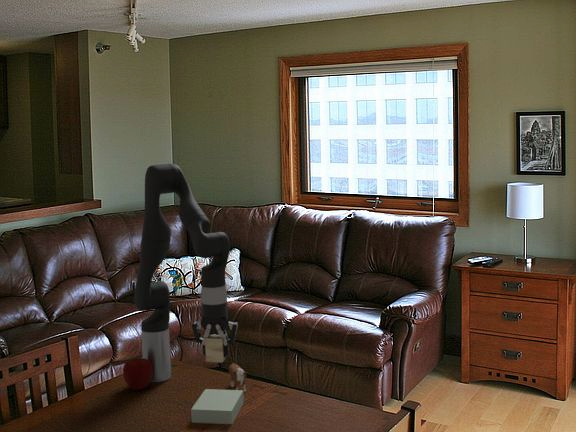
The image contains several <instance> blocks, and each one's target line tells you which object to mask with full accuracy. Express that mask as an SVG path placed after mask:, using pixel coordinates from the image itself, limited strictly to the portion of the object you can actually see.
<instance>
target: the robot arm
mask: <svg viewBox="0 0 576 432" xmlns="http://www.w3.org/2000/svg"><path fill="white" fill-rule="evenodd" d="M174 193H175V195H177V197H178V198H179V206H178V216H179V219H180V220H179V221H180V222H181V223H182V225H183V227H184V228H185V229H186V231H187V233H189V237H190V240H191V244H192V246H193V247H192V248H193V251H194V254H195V255H197V256H198V257H199V258H200V259H209V258H212V259H211V262H210V263H208V264H206V265H204V266H202V267H201V269H200V278H201V279H200V280H201V281H200V282H201V291H200V302H201V304H200V305H201V320H200V321H197V320H195V321H194V322H192V324H191V328H192V329H191V330H192V332H193V335H194V338H195V341H196V343H197V344H202V354H203V356H204V357H205V358H206V350H205V338H208V337H209V336H210V335H213V334H216V335H219V336H220V338H223V344H224V345H223V353H224V358H225V359H227V357H228V356H229V354H230V344H233V343H234V342H235V341H236V337H237V332H238V328H239V322H237V321H236V322H234V321H233V322H232V321H230V319H229V317H228V316H229V315H228V293H227V287H226V286H227V285H226V269H227V265H228V261H229V260H228V259H229V256H230V251H231V240H230V238H229V236H228V235H227V233H225V232H223V231H218V232H217V231H216V232H211V229H212V223H211V221H210V219H209V218H208V217H207V215H206V214H205V212H204V210H203V209H202V208H201V207H200V205H199V203H198V202H197V200H196V198H195V196H194V194H193V191H192V188H191V187H190V184H189V182H188V181H187V178H186V176H185V174H184V172H183V170H182V169H181V168H180V166H179V165H177V164H175V163H165V164H164V163H163V164H153V165H149V166H148V167H147V168H146V171H145V175H144V210H143V211H144V212H143V213H144V215H143V225H142V231H141V239H140V241H141V242H140V257H139V258H140V259H139V266H138V271H137V272H138V273H137V277H136V281H135V282H136V283H135V286H134V287H135V288H134V304H135V307H136V310H138V311H140V312H147V311H153V312H152V313H151V314H150V315H149V316H147V317H145V318H144V319H143V320H141V322H140V330H141V331H140V332H141V347H142V348H141V350H142V352H141V353H142V358H145V359H147V360H149V361H150V362H151V364H152V367H153V374H152V378H151V381H150V383H160V382H166V381H168V380H170V379H171V378H172V369H171V367H172V366H171V365H172V364H171V363H172V362H171V346H170V344H171V342H170V328H169V327H170V320H171V319H170V317H171V316H170V314H171V313H170V309H171V308H170V307H171V301H170V299H171V298H170V296H171V295H170V289H169V286H168V285H167V283H166V281H164V280H158V281H152V280H153V277H154V275H155V273H156V271H157V270H158V268H159V267H160V266H161V264H162V263H163V262H164V260H165V259H166V257H167V255H168V254H169V251H170V247H171V238H172V230H171V227H170V224H169V223H168V221H167V220H166V218H165V216H164V214H163V213H162V210H161V207H160V206H161V205H160V198H161V195H164V194H174ZM201 326H202V328H203V329H204V334H203V337H202V333H201ZM228 327H229V330H230V337H228V333H227V330H226V329H227V328H228ZM221 334H222V335H221Z"/></svg>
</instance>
